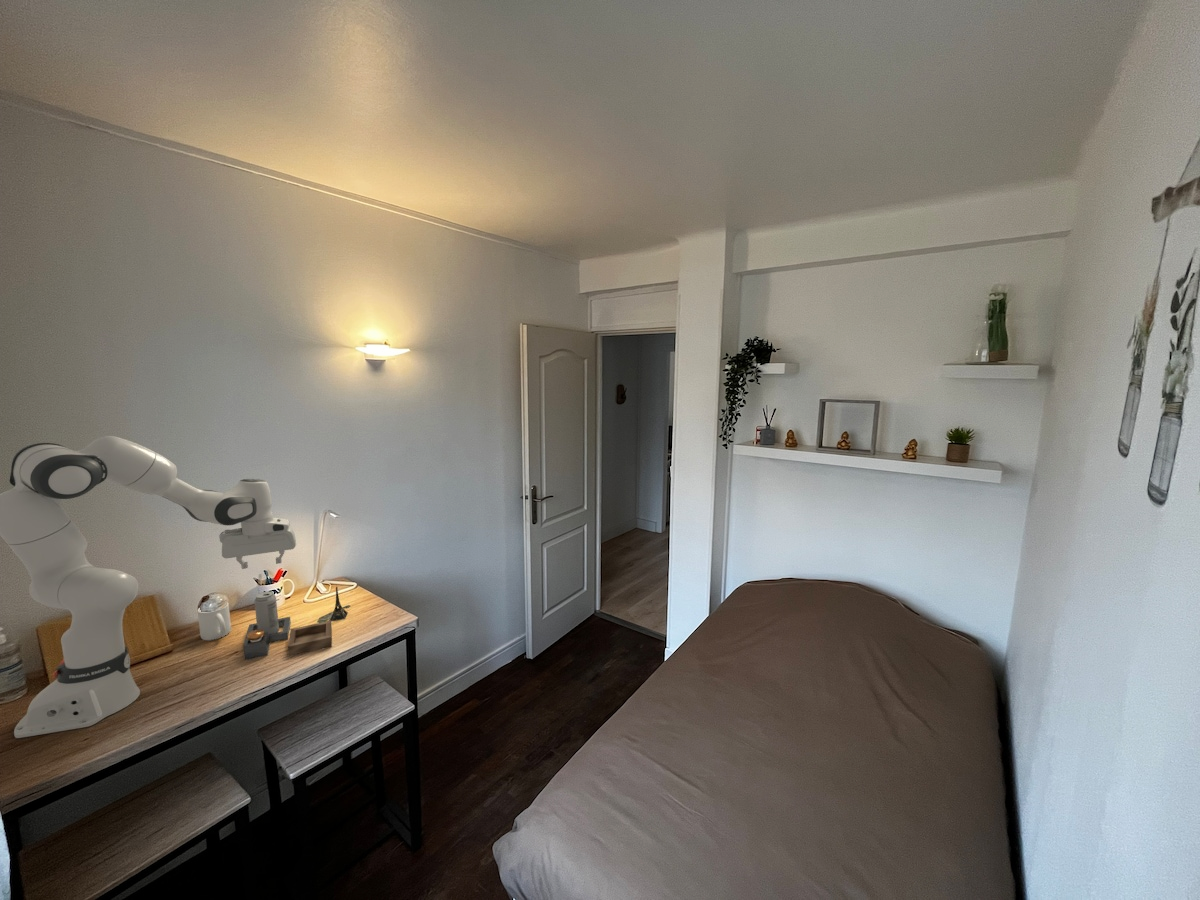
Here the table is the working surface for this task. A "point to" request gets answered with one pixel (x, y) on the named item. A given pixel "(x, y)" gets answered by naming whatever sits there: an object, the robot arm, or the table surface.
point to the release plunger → (255, 635)
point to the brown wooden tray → (310, 638)
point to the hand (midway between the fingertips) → (262, 565)
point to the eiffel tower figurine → (335, 612)
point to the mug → (214, 623)
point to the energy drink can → (266, 612)
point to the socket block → (265, 640)
